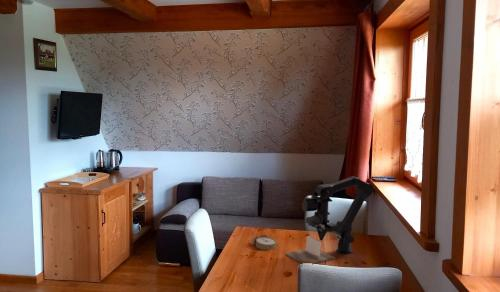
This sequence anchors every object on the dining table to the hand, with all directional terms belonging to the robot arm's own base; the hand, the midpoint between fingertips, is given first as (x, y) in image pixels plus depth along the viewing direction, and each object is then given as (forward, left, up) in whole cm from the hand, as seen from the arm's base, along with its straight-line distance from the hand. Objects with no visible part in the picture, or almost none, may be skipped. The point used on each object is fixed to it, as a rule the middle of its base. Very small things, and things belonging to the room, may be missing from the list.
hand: (321, 240), depth 198 cm
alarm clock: (+18, -25, -8) cm, 32 cm away
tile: (+4, 0, -2) cm, 5 cm away
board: (+7, 0, -8) cm, 10 cm away
